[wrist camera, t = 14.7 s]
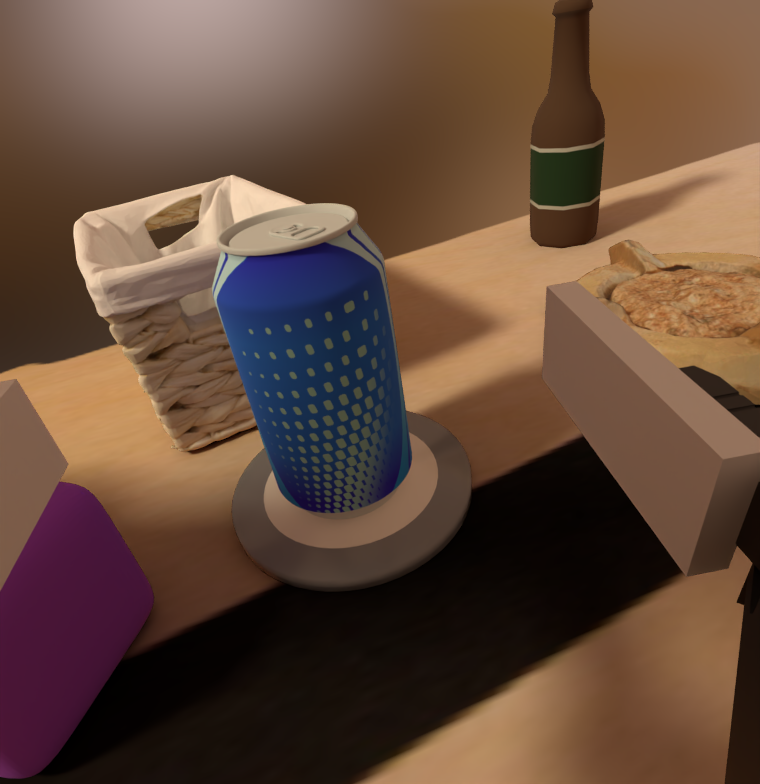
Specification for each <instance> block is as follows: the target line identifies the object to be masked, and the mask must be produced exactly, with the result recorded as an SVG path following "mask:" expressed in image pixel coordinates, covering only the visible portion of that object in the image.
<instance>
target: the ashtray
mask: <svg viewBox="0 0 760 784" xmlns="http://www.w3.org/2000/svg"><path fill="white" fill-rule="evenodd" d="M609 255H610V259H611V265H606V266H603V267H600V268H596V269H594V270H593V271H591V272H589V273H587V274H586V275H584V276H582V277H581V278H580V279H578V280H577V282H578V283H579V284H581V285H582V286H583V287H584V288H585V289H586V290H588V291H589V292H590V293H591V294H592V295H593V296H595V297H596V298H597V299H598V300H599V301H600V302H602V303H603V304H604V305H605V306H606V307H607V308H609V309H610V310H611V311H612V312H613V313H614V314H616V315H617V316H618V317H619V318H620V319H621V320H623V321H624V322H625V323H626V324H627V325H628V326H630V327H631V328H632V329H633V330H634V331H635V332H637V333H638V334H639V335H640V336H641V337H642V338H644V339H645V340H646V341H647V342H648V343H649V344H651V345H652V346H653V347H654V348H655V349H656V350H658V351H659V352H660V353H661V354H662V355H663V356H665V357H666V358H667V359H668V360H669V361H670V362H672V363H673V364H674V365H675V366H676V367H677V368H682V367H688V366H693V365H694V366H696V367H699V368H701V369H703V370H706V371H708V372H710V373H713V374H715V375H717V376H719V377H721V378H722V379H723V380H725V381H726V382H727V383H729V384H730V385H731V386H732V387H734V388H735V389H736V390H737V391H739V395H744V396H745V397H746V398H747V399H749V400H750V401H751V402H752V403H754V404H757V405H760V257H756V256H751V255H743V254H730V253H707V252H703V253H687V252H684V253H666V254H651V253H650V252H648V251H647V250H645V248H644V247H643V246H642V245H641V244H640V243H639V242H635V241H631V240H625V241H622V242H620V243H618V244H616V245H614V246H612V247H610V248H609Z"/></svg>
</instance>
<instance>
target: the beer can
mask: <svg viewBox="0 0 760 784" xmlns="http://www.w3.org/2000/svg"><path fill="white" fill-rule="evenodd" d="M357 220H358V216H357V213H356V211H355V210H354V209H353V208H351V207H349V206H346V205H341V204H330V203H325V204H324V203H321V204H308V205H307V204H306V205H298V206H292V207H286V208H281V209H277V210H272V211H268V212H265V213H261V214H258V215H255V216H252V217H249V218H246V219H244V220H242V221H239V222H237V223H235V224H233V225H231V226H229V227H228V228H226V229H225V230H223V231H222V232H221V233H220V234H219V235H218V237H217V246H218V248H219V249H220V250H221V254H220V258H219V262H218V266H217V270H216V274H215V278H214V281H213V286H212V294H213V298H214V301H215V304H216V307H217V310H218V313H219V316H220V319H221V322H222V325H223V327H224V330H225V333H226V336H227V339H228V342H229V345H230V348H231V351H232V354H233V357H234V360H235V362H236V365H237V368H238V371H239V374H240V377H241V380H242V383H243V386H244V389H245V392H246V395H247V397H248V400H249V403H250V406H251V409H252V412H253V415H254V418H255V421H256V424H257V427H258V430H259V432H260V435H261V438H262V441H263V444H264V447H265V450H266V453H267V456H268V459H269V462H270V465H271V467H272V470H273V473H274V476H275V479H276V482H277V485H278V488H279V490H280V492H281V493H282V495H283V496H284V497H285V498H286V499H287V500H288V501H289V502H290V503H291V504H293V505H295V506H296V507H298V508H300V509H303V510H305V511H307V512H309V513H310V514H313V515H315V516H318V517H321V518H326V519H349V518H354V517H358V516H362V515H365V514H367V513H370V512H372V511H374V510H376V509H377V508H379V507H380V506H382V505H383V504H385V503H386V502H387V501H388V500H389V499H390V498H391V497H392V496H393V495H394V494H395V492H396V491H397V489H398V488H399V486H400V485H401V484H402V482H403V481H404V479H405V478H406V476H407V475H408V473H409V470H410V468H411V463H412V449H411V443H410V436H409V429H408V422H407V415H406V408H405V401H404V394H403V387H402V381H401V374H400V367H399V360H398V353H397V346H396V339H395V332H394V325H393V319H392V312H391V305H390V298H389V291H388V284H387V277H386V270H385V263H384V259H383V256H382V254H381V252H380V250H379V249H378V247H376V245H375V244H374V243H373V242H372V240H371V239H370V238H369V237H368V236H367V234H366V233H365V232H364V231H363V230H362V228H361V227H360V226H359V225H358V224H357Z"/></svg>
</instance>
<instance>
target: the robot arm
mask: <svg viewBox="0 0 760 784" xmlns="http://www.w3.org/2000/svg"><path fill="white" fill-rule="evenodd" d="M542 379H543V380H544V382H545V383H546V384H547V386H548V387H549V389H550V390H551V391H552V393H553V394H554V395H555V397H556V398H557V400H558V401H559V402H560V404H561V405H562V406H563V408H564V409H565V411H566V412H567V413H568V415H569V416H570V417H571V419H572V420H573V422H574V423H575V424H576V426H577V427H578V428H579V430H580V431H581V433H582V434H583V435H584V437H585V438H586V439H587V441H588V442H589V444H590V445H591V446H592V448H593V449H594V450H595V452H596V453H597V455H598V456H599V457H600V459H601V460H602V461H603V463H604V464H605V466H606V467H607V468H608V470H609V471H610V472H611V474H612V475H613V477H614V478H615V479H616V481H617V482H618V483H619V485H620V486H621V488H622V489H623V490H624V492H625V493H626V494H627V496H628V497H629V499H630V500H631V501H632V503H633V504H634V505H635V507H636V508H637V510H638V511H639V512H640V514H641V515H642V516H643V518H644V519H645V521H646V522H647V523H648V525H649V526H650V527H651V529H652V530H653V532H654V533H655V534H656V536H657V537H658V538H659V540H660V541H661V543H662V544H663V545H664V547H665V548H666V549H667V551H668V552H669V554H670V555H671V556H672V558H673V559H674V560H675V562H676V563H677V565H678V566H679V567H680V569H681V570H682V571H683V573H684V574H685V576H686V577H687V576H692V575H697V574H702V573H707V572H712V571H717V570H722V569H727V568H728V567H729V565H730V562H731V559H732V557H733V554H734V552H735V549H736V546H738V547H739V548H740V549H741V550H742V551H743V553H744V554H745V555H746V556H747V557H748V558H749V559H750V561H751V562H752V563H753V564H752V566H751V569H750V571H749V573H748V576H747V578H746V581H745V583H744V585H743V588H742V590H741V593H740V595H739V597H738V600H737V603H740V604H742V605H744V613H743V622H742V631H741V640H740V649H739V658H738V667H737V676H736V685H735V695H734V704H733V713H732V722H731V731H730V740H729V749H728V758H727V767H726V776H725V784H760V408H755V404H754V403H752V402H751V401H750V400H749V399H747V398H746V397H745V396H744V395H739V391H737V390H736V389H735V388H734V387H732V386H731V385H730V384H729V383H727V382H726V381H725V380H723V379H722V378H721V377H719V376H717V375H715V374H713V373H710V372H708V371H706V370H703V369H701V368H699V367H696V366H694V365H693V366H688V367H682V368H677V367H676V366H675V365H674V364H673V363H672V362H670V361H669V360H668V359H667V358H666V357H665V356H663V355H662V354H661V353H660V352H659V351H658V350H656V349H655V348H654V347H653V346H652V345H651V344H649V343H648V342H647V341H646V340H645V339H644V338H642V337H641V336H640V335H639V334H638V333H637V332H635V331H634V330H633V329H632V328H631V327H630V326H628V325H627V324H626V323H625V322H624V321H623V320H621V319H620V318H619V317H618V316H617V315H616V314H614V313H613V312H612V311H611V310H610V309H609V308H607V307H606V306H605V305H604V304H603V303H602V302H600V301H599V300H598V299H597V298H596V297H595V296H593V295H592V294H591V293H590V292H589V291H588V290H586V289H585V288H584V287H583V286H582V285H581V284H579V283H578V282H577V281H573V282H568V283H562V284H556V285H551V286H547V291H546V310H545V329H544V348H543V367H542ZM67 466H68V462H67V461H66V459H65V458H64V456H63V454H62V453H61V451H60V449H59V448H58V446H57V444H56V443H55V441H54V440H53V438H52V436H51V435H50V433H49V431H48V430H47V428H46V427H45V425H44V423H43V422H42V420H41V418H40V417H39V415H38V413H37V412H36V410H35V409H34V407H33V405H32V404H31V402H30V400H29V399H28V397H27V395H26V394H25V392H24V391H23V389H22V387H21V386H20V384H19V382H18V381H17V379H14V380H8V381H2V382H0V591H1V589H2V587H3V585H4V583H5V581H6V579H7V578H8V576H9V574H10V572H11V570H12V568H13V566H14V565H15V563H16V561H17V559H18V557H19V555H20V553H21V552H22V550H23V548H24V546H25V544H26V542H27V540H28V539H29V537H30V535H31V533H32V531H33V529H34V527H35V526H36V524H37V522H38V520H39V518H40V516H41V514H42V513H43V511H44V509H45V507H46V505H47V503H48V501H49V500H50V498H51V496H52V494H53V492H54V490H55V488H56V486H57V485H58V483H59V481H60V479H61V477H62V475H63V473H64V472H65V470H66V468H67Z"/></svg>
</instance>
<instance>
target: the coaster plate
mask: <svg viewBox="0 0 760 784" xmlns="http://www.w3.org/2000/svg"><path fill="white" fill-rule="evenodd" d="M406 415H407V422H408V429H409V436H410V443H411V449H412V463H411V468H410V470H409V473H408V475H407V476H406V478H405V479H404V481H403V482H402V484H401V485H400V486H399V488H398V489H397V491H396V492H395V494H394V495H393V496H392V497H391V498H390V499H389V500H388V501H387V502H386V503H385V504H383V505H382V506H380V507H379V508H377V509H376V510H374V511H372V512H370V513H367V514H365V515H362V516H358V517H354V518H349V519H326V518H321V517H318V516H315V515H313V514H310V513H309V512H307V511H305V510H303V509H300V508H298V507H296V506H295V505H293V504H291V503H290V502H289V501H288V500H287V499H286V498H285V497H284V496H283V495H282V493H281V492H280V490H279V488H278V485H277V482H276V479H275V476H274V473H273V470H272V467H271V465H270V462H269V459H268V456H267V453H266V450H265V448H264V449H263V450H262V451H261V452H260V453H259V454H258V455H257V456H256V457H255V458H254V459H253V460H252V461H251V463H250V464H249V465H248V467H247V468H246V469H245V471H244V473H243V474H242V476H241V478H240V480H239V482H238V484H237V487H236V489H235V493H234V497H233V501H232V518H233V524H234V527H235V530H236V533H237V536H238V538H239V540H240V543H241V545H242V547H243V549H244V550H245V552H246V554H247V556H248V557H249V558H250V559H251V560H252V561H253V563H254V564H255V565H256V566H257V567H259V568H260V569H261V570H262V571H263V572H265V573H266V574H268V575H269V576H271V577H273V578H275V579H276V580H278V581H280V582H283V583H286V584H288V585H291V586H294V587H298V588H302V589H307V590H313V591H324V592H341V591H352V590H359V589H365V588H369V587H373V586H377V585H381V584H384V583H387V582H389V581H392V580H395V579H397V578H400V577H402V576H404V575H406V574H408V573H410V572H412V571H414V570H416V569H417V568H419V567H420V566H422V565H423V564H425V563H426V562H428V561H429V560H431V559H432V558H433V557H434V556H436V555H437V554H438V553H439V552H440V551H441V550H443V549H444V548H445V546H446V545H447V544H448V543H449V542H450V541H451V540H452V539H453V538H454V536H455V535H456V533H457V532H458V530H459V529H460V527H461V526H462V524H463V522H464V520H465V518H466V515H467V513H468V510H469V506H470V503H471V496H472V479H471V468H470V463H469V460H468V456H467V454H466V452H465V450H464V448H463V446H462V445H461V444H460V442H459V441H458V440H457V438H456V437H455V436H454V435H453V434H452V433H451V432H450V431H449V430H447V429H446V428H444V427H443V426H442V425H440V424H439V423H437V422H435V421H433V420H431V419H429V418H427V417H424V416H422V415H419V414H416V413H413V412H409V411H406Z"/></svg>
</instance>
